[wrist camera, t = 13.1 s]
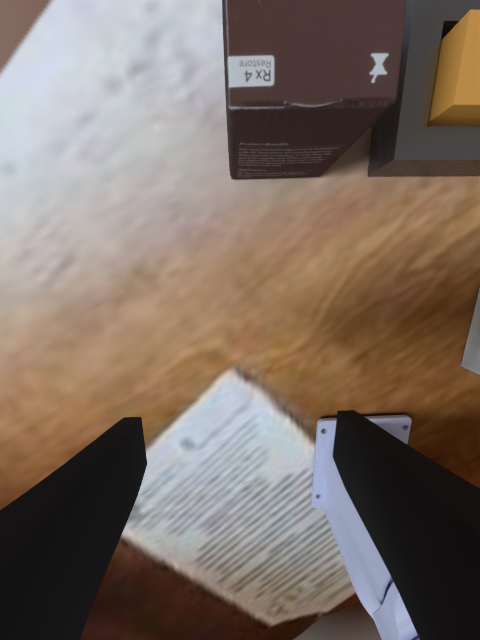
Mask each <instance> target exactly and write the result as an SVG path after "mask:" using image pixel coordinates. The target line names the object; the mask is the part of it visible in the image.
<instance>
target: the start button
mask: <svg viewBox="0 0 480 640" xmlns="http://www.w3.org/2000/svg"><path fill="white" fill-rule="evenodd" d="M427 126H480V10H469V12H468V13H467V14H466V15H465V16H464V17H463V18H462V19H461V20H460V21H459V22H458V23H457V24H456V25H455V26H454V27H453V28H452V30H451V31H450V32H449V33H448V34H447V35H446V36H445V37H444V38H443V39H442V40H441V42H440V48H439V55H438V61H437V67H436V74H435V80H434V86H433V93H432V99H431V106H430V112H429V118H428V125H427Z"/></svg>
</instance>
